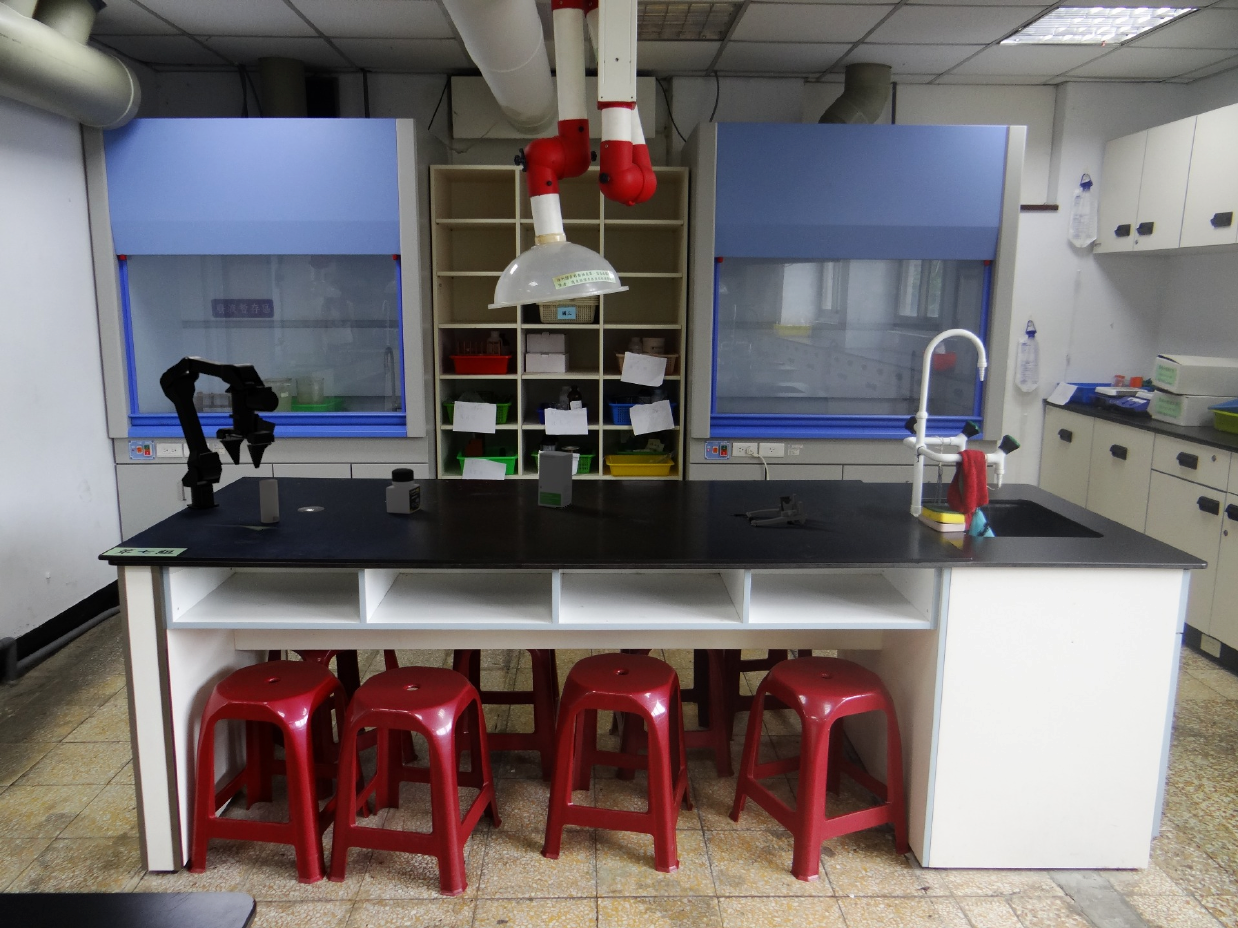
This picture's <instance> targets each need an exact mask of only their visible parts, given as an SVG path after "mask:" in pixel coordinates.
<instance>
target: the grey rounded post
mask: <svg viewBox="0 0 1238 928" xmlns="http://www.w3.org/2000/svg"><path fill="white" fill-rule="evenodd" d="M258 483H259V485H258V487H259V501H260V503H259V504H260V520H261V523H263V524H273V523H277V522H279V521H280V510H279V508H280V507H279V489H278V479H272V478H270V479H261V480H259V482H258Z"/></svg>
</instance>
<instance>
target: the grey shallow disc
mask: <svg viewBox="0 0 1238 928" xmlns="http://www.w3.org/2000/svg"><path fill="white" fill-rule="evenodd" d="M323 510H325V508H324V507H322V506H305V507H300V508H298V509H297V512H299V513H315V512H316V513H317V512H320V511H323Z"/></svg>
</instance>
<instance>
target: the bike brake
mask: <svg viewBox="0 0 1238 928" xmlns="http://www.w3.org/2000/svg"><path fill="white" fill-rule="evenodd" d="M779 498H780V499H779V500H780V504H778V508H771V509H760V510H759V509H758V510H755V511H749V512H748V511H747V512H746V513H744V514H743V513H734V515H738V516H737V517H745V516H746V518H747V517H748V518H747V520H748V522H749V521H750V522H749V523H751V524H750V526H751V525H755V526H754V527H757V526H766V525H772V524H779V523H784V524H785V523H792V524H794V523H795V521H799V523H800V524H805V522H806V520H807V519H808V514H807V513H804V504H803V501H798V497H797V493H793V494H792V498H790V495H788V496H780V497H779ZM792 499H793V501H792ZM777 514H778V515H779V514H780V516H778V517H774V518H770V519H764V520H763V519H762V520H755V519H754V518H753V517H755V516H760V515H777ZM756 525H757V526H756Z"/></svg>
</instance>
